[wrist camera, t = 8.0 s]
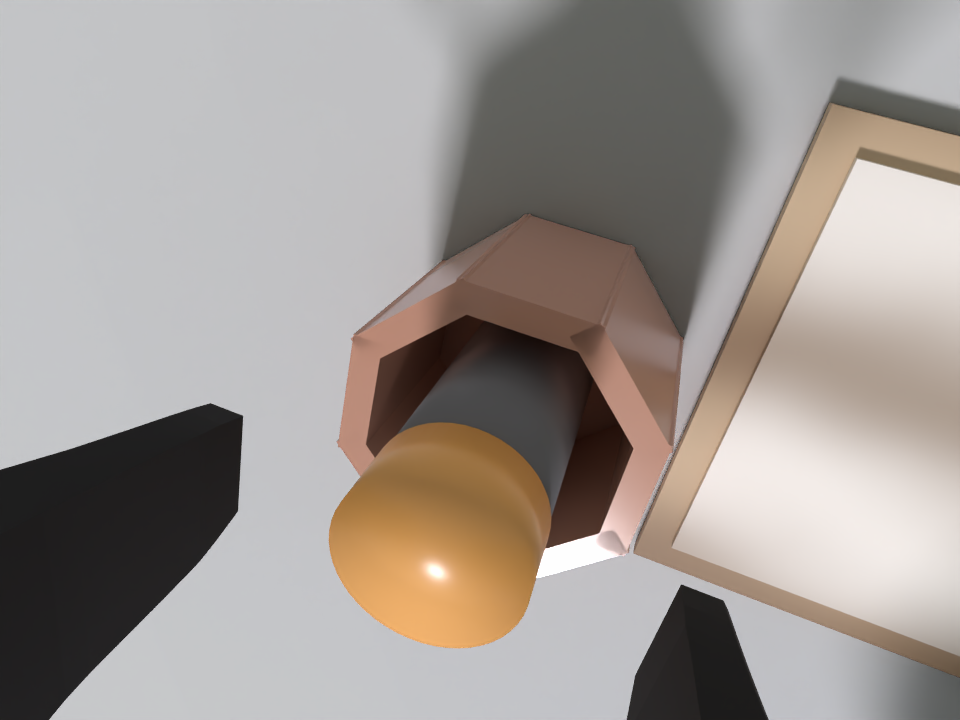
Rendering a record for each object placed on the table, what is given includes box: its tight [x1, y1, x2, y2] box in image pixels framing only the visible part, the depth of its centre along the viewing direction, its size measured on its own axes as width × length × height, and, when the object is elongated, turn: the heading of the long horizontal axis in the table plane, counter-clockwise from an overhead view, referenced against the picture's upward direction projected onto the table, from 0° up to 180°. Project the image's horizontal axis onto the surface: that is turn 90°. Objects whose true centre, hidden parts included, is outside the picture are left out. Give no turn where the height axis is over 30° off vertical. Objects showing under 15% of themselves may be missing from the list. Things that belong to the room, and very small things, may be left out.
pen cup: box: [337, 214, 683, 578], centre depth 15 cm, size 6×6×5 cm
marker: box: [329, 321, 594, 648], centre depth 13 cm, size 3×3×8 cm
